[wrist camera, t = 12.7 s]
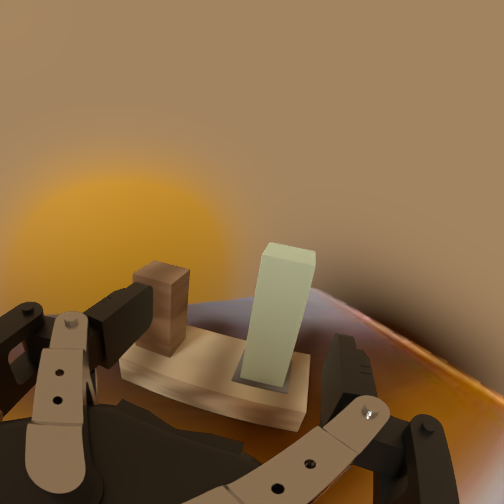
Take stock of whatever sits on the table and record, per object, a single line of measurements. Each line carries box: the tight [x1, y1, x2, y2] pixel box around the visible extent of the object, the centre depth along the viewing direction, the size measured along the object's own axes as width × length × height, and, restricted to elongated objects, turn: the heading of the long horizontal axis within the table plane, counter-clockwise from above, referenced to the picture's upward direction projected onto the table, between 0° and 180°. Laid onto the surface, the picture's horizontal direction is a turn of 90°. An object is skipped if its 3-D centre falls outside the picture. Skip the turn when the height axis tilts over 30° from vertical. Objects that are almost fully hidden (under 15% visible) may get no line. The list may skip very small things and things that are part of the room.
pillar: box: [240, 242, 316, 387], centre depth 25 cm, size 4×4×12 cm
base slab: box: [119, 261, 310, 432], centre depth 26 cm, size 18×9×11 cm, turn 78°
